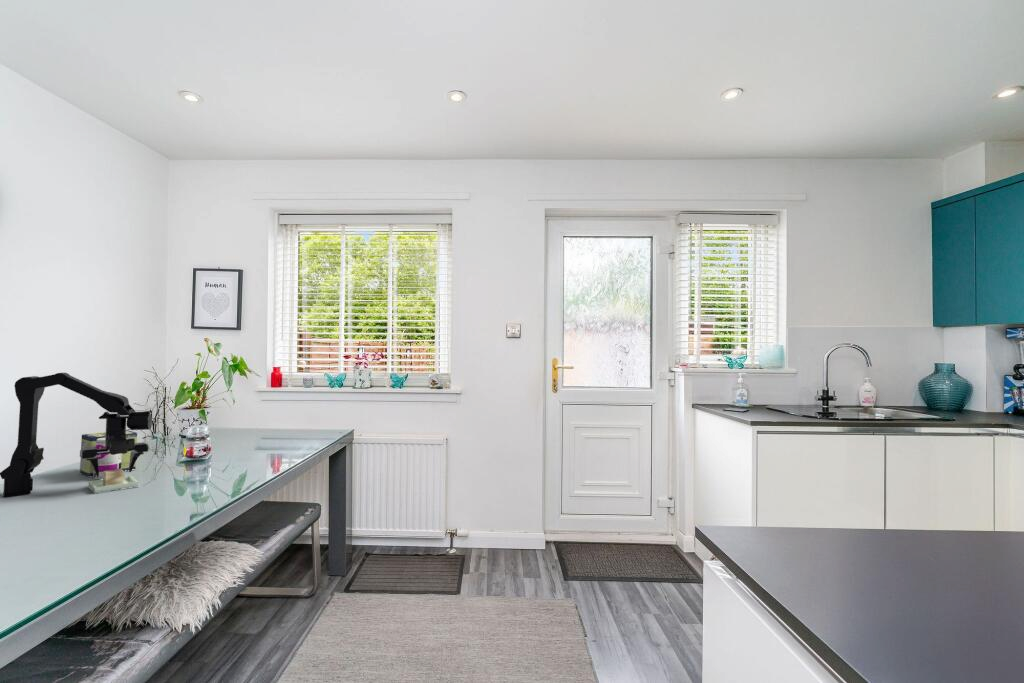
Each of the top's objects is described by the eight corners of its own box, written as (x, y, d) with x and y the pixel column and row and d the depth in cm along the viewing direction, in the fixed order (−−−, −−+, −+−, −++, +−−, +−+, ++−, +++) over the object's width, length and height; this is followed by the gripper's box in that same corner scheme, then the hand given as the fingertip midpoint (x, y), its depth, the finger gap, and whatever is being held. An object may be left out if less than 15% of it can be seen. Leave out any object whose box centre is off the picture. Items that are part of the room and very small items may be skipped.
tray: (94, 493, 169) (94, 488, 169) (88, 486, 177) (88, 481, 177) (137, 487, 178) (137, 481, 178) (130, 481, 186) (130, 475, 186)
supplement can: (108, 480, 186) (110, 440, 186) (87, 479, 186) (89, 440, 186) (126, 475, 194) (127, 437, 194) (105, 474, 194) (107, 436, 194)
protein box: (136, 470, 203) (138, 432, 203) (88, 477, 189) (90, 437, 190) (125, 466, 208) (127, 429, 208) (78, 473, 195) (80, 434, 195)
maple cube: (105, 487, 174) (106, 473, 174) (102, 484, 177) (103, 470, 177) (123, 485, 177) (123, 471, 177) (120, 482, 181) (120, 468, 181)
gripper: (85, 436, 165) (83, 483, 165) (152, 430, 179) (151, 473, 179) (80, 432, 173) (78, 477, 172) (145, 427, 187) (143, 468, 186)
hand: (114, 474), depth 177 cm, fingers open, 9 cm apart
